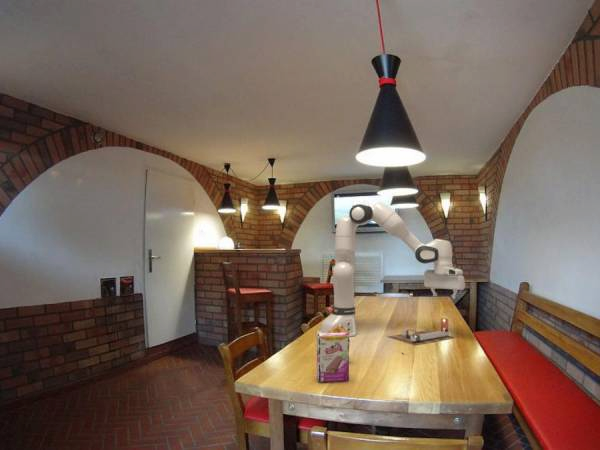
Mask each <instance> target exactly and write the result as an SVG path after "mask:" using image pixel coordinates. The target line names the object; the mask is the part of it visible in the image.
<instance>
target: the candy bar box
mask: <svg viewBox="0 0 600 450" xmlns="http://www.w3.org/2000/svg"><path fill="white" fill-rule="evenodd" d="M349 340H350V336H349V335H348V334H346V333H317V332H316V380H317V381H318V383H319V384H321V383H339V382H349V381H350V342H349Z"/></svg>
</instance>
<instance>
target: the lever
mask: <svg viewBox="0 0 600 450" xmlns="http://www.w3.org/2000/svg"><path fill="white" fill-rule="evenodd" d="M450 332H451V331H450V328H449V318H444V317H442V318H440V331H439V330H438V331H433V332H431V333H425V334H420V335H417V334H413V335H412V336H410V337H411V341H414V342H420V340H425V339H430V338H436V337H442V336H447V335H448V336H451V335H450Z"/></svg>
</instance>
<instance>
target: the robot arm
mask: <svg viewBox="0 0 600 450" xmlns="http://www.w3.org/2000/svg"><path fill="white" fill-rule="evenodd" d="M371 221H373V222H375V223H376V224H377V225H378V226H379V227H380V228H381V229H382V230H384V232H386V233H387V234H389V235H391V236H393V237H395V238H397V239H399V240H401V241H402V242H403V243H404V244H405V245H407V246H408V248H410V249H411V251H412V252H413V253H414V256H415V258H416V260H417V261H418V262H419V263H420V264H430V263H433V265H434V266H433V269H425V271H424V272H423V273H424V276H423V277H424V279H423V286H424V287H425V288H430V290H431V293H432V296H433V297H435V298H436V297H438V292H436V289H443V290H452V292H453V294H451V295H450V298H451V299H453V300H454V299H456V295H457V293H458V291H464V290H465V288H466V281H465V277H464V276H463V274H464V272H463V270H462V269H460V268H457V267H454V264H453V262H452V259H453V246H452V243H451V242H450V240H448V239H445V238H438V237H437V238H434V239H433V240H431V241H429V242H427V243H426V244H425V243H423V242H422V241H421V240H419V239H418V238H417V237H416V236H415V235H414V234H413V233H412V232H411V231H410V230H409V228H408V226H407V225H406V223H405V222H404V220H403V218H402V217H401V216H400V215H399V214H398V213H397V212H396V211H394V210H393V209H392V208H391V207H390V206H388V205H387V204H385V203H383V202H380V201H379V202H376V203H374V204H373V205H372V206H369V205H365V204H361V203H360V204H358V203H357V204H355V205H353V206H352V207H350V210H349V213H348V216H341V217H340V218H339V219H338V220H337V223H336V227H335V235H334V236H335V240H334V264H335V265H334V267H333V268H332V280H333V281H332V283H333V304H334V305H333V307H328V308H327V310H328V312H331V313H330V315H328V316H327V317H326V318H325V319H324V320H323V321H322V322H321V327H320V328H321V329H320V330H317V331H316V334H317V333H328V331H332V328H333V330H334V328H336V327H337V326H339V328H340V330H341V328H342V329H343V327H342V326H341V325H343V326H344V328H345V331H346V334H347V332H350V334H349V337H356V336H357V335H358V329H357V324H356V315H355V314H356V306H355V287H354V285H355V282H354V281H355V280H354V274H355V262H356V260H355V257H356V254H355V253H356V251H355V250H356V233H357V232H356V230H357V228H358V227H361V226H366V225H368V224H369V223H370V222H371ZM332 332H333V331H332ZM341 332H342V330H341ZM337 333H338V331H337Z"/></svg>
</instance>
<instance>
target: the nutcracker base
mask: <svg viewBox="0 0 600 450" xmlns="http://www.w3.org/2000/svg"><path fill="white" fill-rule="evenodd" d="M408 330H410V329H408V328H404V329H402V330H401V334H395V335H388V336H387V338H390V339H393V340H395V341H399V342H402V343H405V344H408V345H411V346H414V347H415V346H421V345H426V344H431V343H437V342H443V341H447V340H453V339H457V337H454V336H452V335H447V336H442V337H436V338H430V339H425V340H420V342H414V341H411V340H410V339H408ZM431 332H434V331H432V330H429V329H426V330H420V331H417V335H420V334H425V333H431Z"/></svg>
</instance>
